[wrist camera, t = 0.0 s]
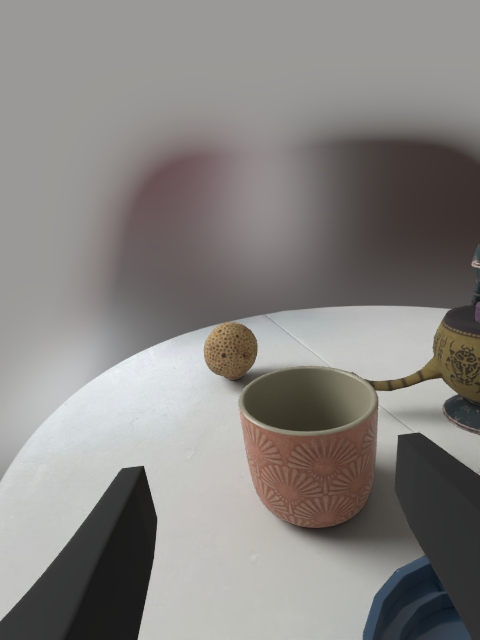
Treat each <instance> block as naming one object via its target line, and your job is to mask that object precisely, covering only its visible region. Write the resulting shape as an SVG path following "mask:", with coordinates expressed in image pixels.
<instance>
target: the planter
mask: <svg viewBox="0 0 480 640" xmlns="http://www.w3.org/2000/svg"><path fill="white" fill-rule="evenodd" d="M239 410H240V417H241V423H242V430H243V436H244V442H245V448H246V454H247V459H248V464H249V469H250V473H251V477H252V481H253V484H254V487H255V489H256V492H257V494H258V496H259V498H260V500H261V501H262V502H263V504H264V505H265V506H266V507H267V508H268V510H270V511H271V512H272V513H273V514H274V515H276V516H277V517H279V518H280V519H282V520H284V521H286V522H289V523H291V524H294V525H298V526H302V527H310V528H322V527H330V526H334V525H338V524H340V523H343V522H345V521H347V520H349V519H350V518H352V517H353V516H355V515H356V514H357V513H358V512H359V511H360V510H361V509H362V508H363V506H364V505H365V503H366V502H367V500H368V498H369V495H370V492H371V489H372V485H373V479H374V471H375V462H376V446H377V422H378V396H377V393H376V391H375V390H374V388H373V387H372V386H371V385H370V384H369V383H368V382H367V381H366V380H364V379H362V378H361V377H359V376H357V375H355V374H352V373H350V372H347V371H343V370H340V369H335V368H329V367H320V366H300V367H291V368H285V369H280V370H276V371H273V372H270V373H267V374H264V375H262V376H260V377H258V378H256V379H255V380H253V381H252V382H250V383H249V384H248V385H247V386H246V387H245V388H244V389H243V391H242V392H241V394H240V397H239Z"/></svg>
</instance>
